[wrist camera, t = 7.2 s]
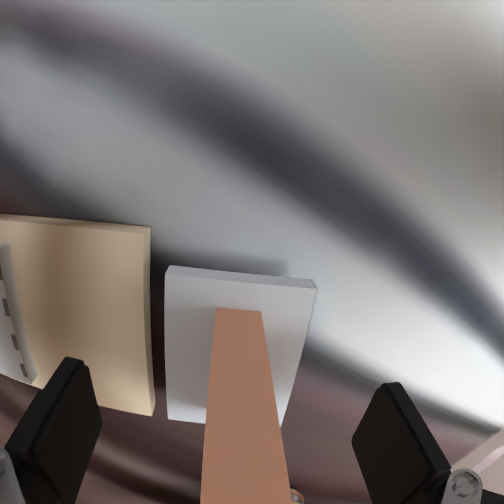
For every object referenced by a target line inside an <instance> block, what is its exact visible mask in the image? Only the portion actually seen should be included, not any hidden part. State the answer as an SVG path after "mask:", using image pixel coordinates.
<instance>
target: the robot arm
mask: <svg viewBox="0 0 504 504" xmlns="http://www.w3.org/2000/svg"><path fill="white" fill-rule="evenodd" d="M101 428H102V418H101V415H100V411H99V408H98V404H97V400H96V396H95V392H94V388H93V384H92V379H91V375H90V370H89V367H88V366H87V365H85V364H84V361H83V360H80V359H76V358H72V357H68V356H66V357H65V358H64V359H63V360H62V362H61V363H60V365H59V366H58V367H57V369H56V370H55V372H54V373H53V375H52V376H51V378H50V379H49V381H48V382H47V384H46V385H45V387H44V388H43V389H41V390H40V391H39V392H38V393H37V395H36V396H35V398H34V399H33V401H32V402H31V404H30V406H29V407H28V409H27V410H26V412H25V414H24V415H23V417H22V418H21V420H20V422H19V423H18V425H17V427H16V428H15V430H14V432H13V433H12V435H11V437H10V439H9V440H8V442H7V444H6V445H5V447H4V449H3V448H2V447H0V504H74V503H75V501H76V498H77V495H78V492H79V489H80V486H81V483H82V480H83V477H84V474H85V471H86V469H87V466H88V463H89V460H90V457H91V455H92V452H93V449H94V447H95V444H96V441H97V439H98V436H99V433H100V431H101ZM352 447H353V450H354V452H355V455H356V458H357V461H358V463H359V466H360V469H361V472H362V475H363V477H364V480H365V483H366V486H367V489H368V492H369V495H370V497H371V500H372V503H373V504H504V496H503V495H500V494H497V493H494V492H490V491H487V490H484V489H483V484H482V481H481V479H480V477H479V476H478V474H476V473H475V472H474V471H472V470H470V469H464V468H462V469H457V470H455V471H454V472H452V473H451V471H450V469H451V466H450V464H449V463H448V461H447V459H446V457H445V456H444V454H443V452H442V450H441V449H440V447H439V445H438V444H437V442H436V440H435V438H434V437H433V435H432V433H431V432H430V430H429V428H428V427H427V425H426V423H425V422H424V420H423V418H422V417H421V415H420V414H419V412H418V410H417V409H416V407H415V405H414V404H413V402H412V401H411V399H410V397H409V396H408V394H407V393H406V391H405V389H404V388H403V386H402V385H401V384H400V383H399V382H393V383H383V384H382V385H381V386H380V388H377V390H376V391H375V393H374V396H373V398H372V400H371V402H370V404H369V406H368V408H367V410H366V412H365V414H364V416H363V418H362V420H361V422H360V424H359V426H358V427H357V429H356V431H355V433H354V435H353V437H352Z"/></svg>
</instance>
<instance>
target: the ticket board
mask: <svg viewBox="0 0 504 504" xmlns="http://www.w3.org/2000/svg"><path fill="white" fill-rule="evenodd" d="M150 248H151V227H145V226H135V225H125V224H114V223H104V222H93V221H82V220H70V219H59V218H47V217H36V216H23V215H11V214H0V373H1V374H3V375H6V376H8V377H11V378H13V379H16V380H18V381H21V382H24V383H26V384H29V385H32V386H35V387H38V388H41V389H43V388H44V387H45V385H46V384H47V382H48V381H49V379H50V378H51V376H52V375H53V373H54V372H55V370H56V369H57V367H58V366H59V365H60V363H61V362H62V360H63V359H64V358H65V357H66V356H68V357H72V358H76V359H80V360H83V361H84V364H85V365H87V366H88V367H89V370H90V375H91V379H92V384H93V388H94V392H95V396H96V400H97V404H98V405H99V406H104V407H108V408H112V409H117V410H121V411H126V412H131V413H136V414H142V415H147V416H152V414H153V410H154V406H155V392H154V380H153V366H152V348H151V322H150Z"/></svg>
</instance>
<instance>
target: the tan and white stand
mask: <svg viewBox="0 0 504 504" xmlns="http://www.w3.org/2000/svg"><path fill="white" fill-rule="evenodd" d="M316 293H317V288H316V286H315V284H314V282H313V281H312V280H311V279H300V278H289V277H279V276H268V275H258V274H248V273H238V272H228V271H219V270H209V269H200V268H191V267H182V266H173V265H170V266H169V267H168V269H167V271H166V273H165V303H164V330H165V373H166V394H167V411H168V419H172V420H179V421H187V422H196V423H205V437H204V450H203V465H202V481H201V498H200V504H292V498H291V491H290V485H289V479H288V473H287V467H286V461H285V455H284V449H283V442H282V436H281V430H280V427H281V424H282V421H283V418H284V414H285V411H286V408H287V404H288V401H289V398H290V394H291V391H292V387H293V384H294V380H295V376H296V373H297V369H298V365H299V362H300V358H301V354H302V350H303V346H304V343H305V339H306V335H307V331H308V327H309V322H310V318H311V314H312V310H313V306H314V301H315V297H316Z"/></svg>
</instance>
